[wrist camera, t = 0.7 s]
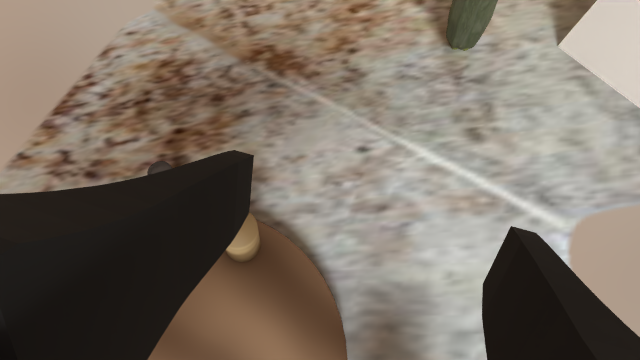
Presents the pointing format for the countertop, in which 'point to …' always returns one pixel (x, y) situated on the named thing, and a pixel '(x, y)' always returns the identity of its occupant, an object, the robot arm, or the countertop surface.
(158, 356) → the disc
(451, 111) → the countertop surface
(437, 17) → the countertop surface
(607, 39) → the milk
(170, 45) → the countertop surface
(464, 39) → the vegetable
